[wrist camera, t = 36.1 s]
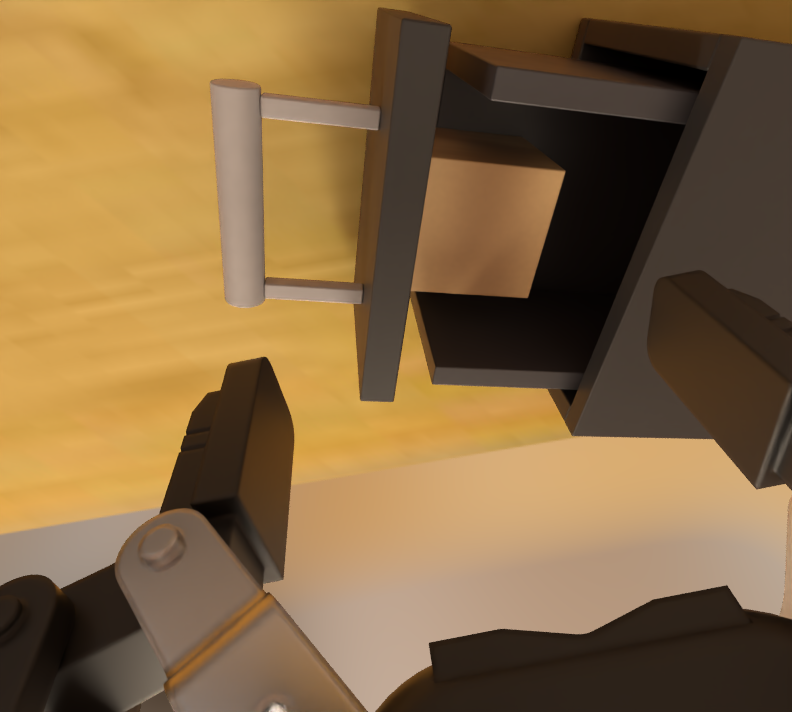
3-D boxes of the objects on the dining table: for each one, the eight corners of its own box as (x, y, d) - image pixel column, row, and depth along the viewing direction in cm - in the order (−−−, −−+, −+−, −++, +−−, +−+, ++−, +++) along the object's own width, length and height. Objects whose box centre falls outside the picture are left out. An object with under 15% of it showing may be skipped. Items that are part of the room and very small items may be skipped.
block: (391, 239, 22) (403, 291, 18) (406, 123, 19) (423, 155, 16) (496, 247, 23) (528, 298, 19) (523, 136, 20) (566, 170, 16)
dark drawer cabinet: (502, 306, 27) (571, 436, 19) (581, 17, 20) (742, 36, 12) (752, 321, 29) (906, 443, 21) (904, 66, 22) (1217, 109, 14)
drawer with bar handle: (245, 288, 24) (214, 397, 18) (232, -14, 17) (175, -15, 11) (616, 311, 27) (705, 412, 20) (722, 57, 20) (899, 89, 14)
